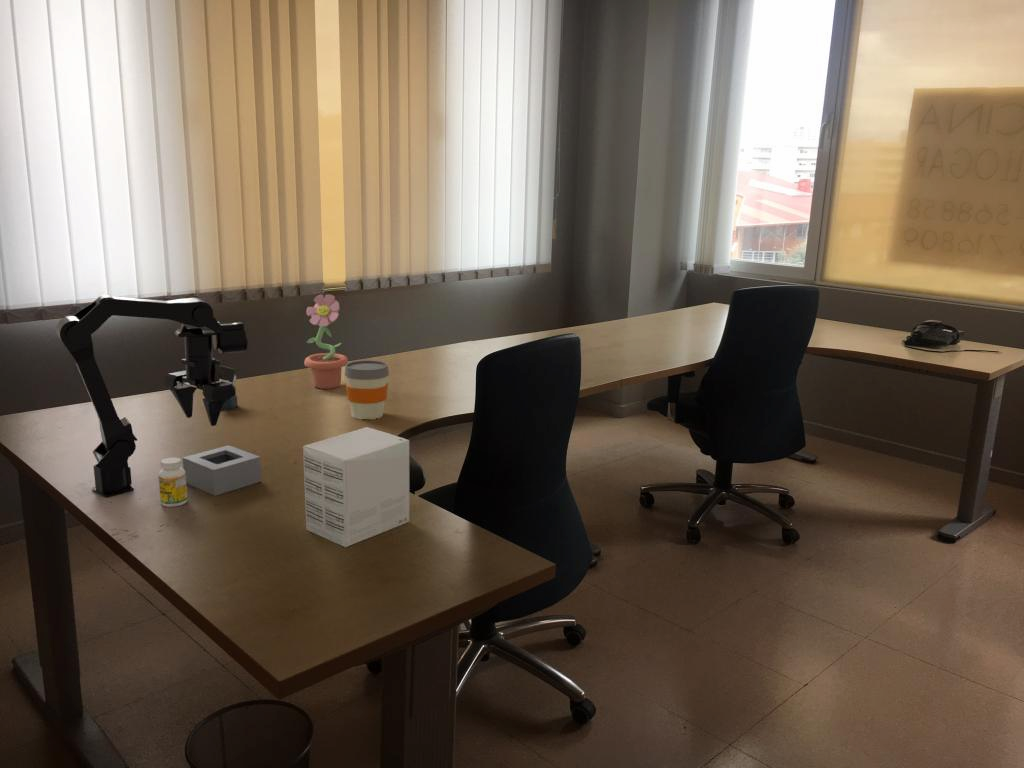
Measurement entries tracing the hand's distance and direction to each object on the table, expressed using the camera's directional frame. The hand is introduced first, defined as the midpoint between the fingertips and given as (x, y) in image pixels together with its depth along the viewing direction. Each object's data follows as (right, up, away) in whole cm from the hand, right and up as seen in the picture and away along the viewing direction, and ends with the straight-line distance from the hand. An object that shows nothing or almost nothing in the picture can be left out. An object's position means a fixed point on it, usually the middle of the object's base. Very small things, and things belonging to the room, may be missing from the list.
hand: (201, 421), depth 201 cm
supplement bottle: (-1, -17, -13) cm, 21 cm away
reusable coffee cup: (+29, -1, +54) cm, 62 cm away
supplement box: (+40, -21, -22) cm, 50 cm away
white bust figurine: (-14, +2, +58) cm, 60 cm away
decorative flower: (+10, +8, +84) cm, 85 cm away
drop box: (+5, -14, 0) cm, 15 cm away
